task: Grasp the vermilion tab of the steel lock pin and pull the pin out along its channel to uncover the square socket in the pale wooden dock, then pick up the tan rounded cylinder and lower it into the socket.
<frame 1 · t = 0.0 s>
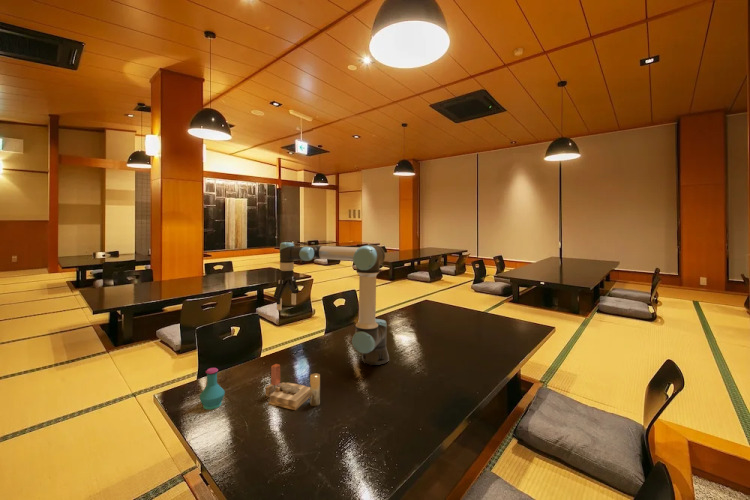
hand: (286, 307, 183), 28 cm above the table, fingers open, 13 cm apart
tan rounded cylinder: (315, 403, 135), on the table
dock: (291, 399, 138), on the table
lock pin: (285, 378, 138), point 9 cm above the table, slide at 0.0 cm
perfume bottle: (212, 405, 132), on the table
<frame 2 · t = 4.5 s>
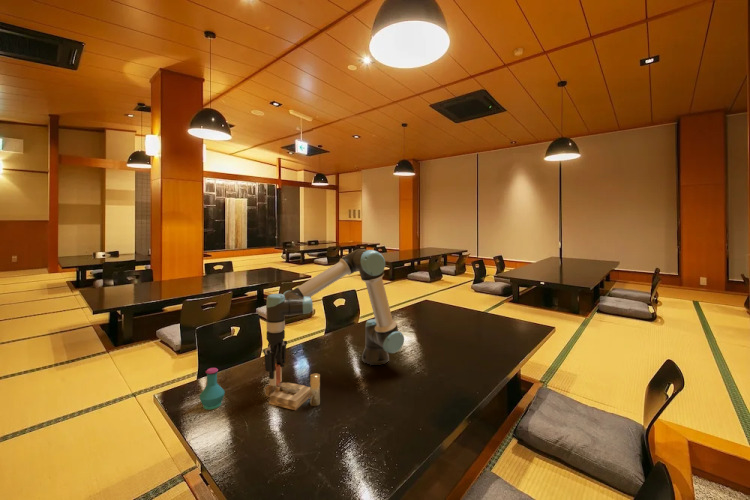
hand: (275, 383, 140), 6 cm above the table, fingers closed on lock pin, 3 cm apart
lock pin: (285, 378, 138), point 9 cm above the table, slide at 0.0 cm, touching gripper
everything else where it was.
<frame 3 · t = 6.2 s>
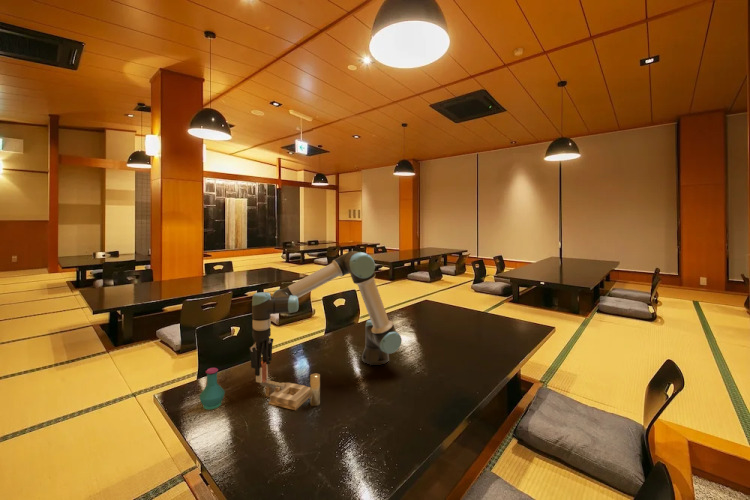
hand: (261, 380, 143), 6 cm above the table, fingers closed on lock pin, 3 cm apart
lock pin: (271, 375, 141), point 9 cm above the table, slide at 7.4 cm, touching dock, gripper
everything else where it was.
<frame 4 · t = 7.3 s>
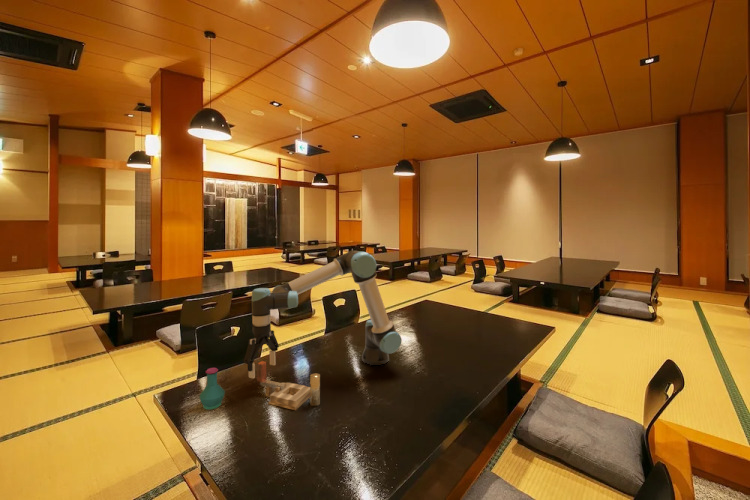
hand: (262, 370, 143), 10 cm above the table, fingers open, 13 cm apart
lock pin: (270, 375, 141), point 9 cm above the table, slide at 7.4 cm, touching dock
everything else where it was.
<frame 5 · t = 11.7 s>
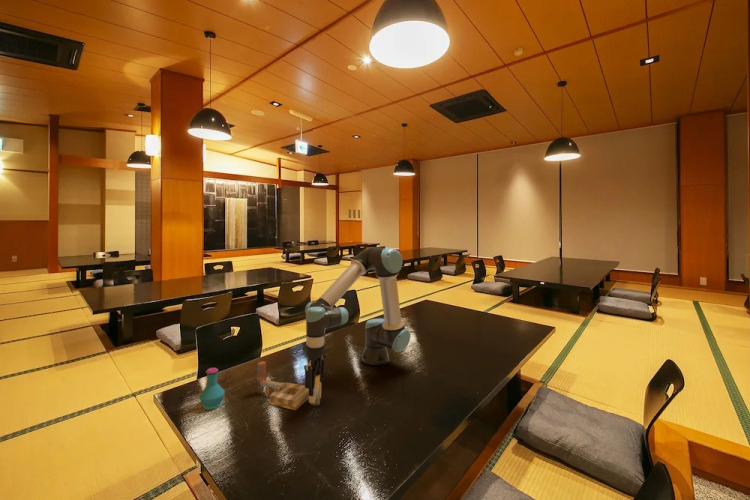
hand: (315, 399, 135), 2 cm above the table, fingers closed on tan rounded cylinder, 4 cm apart
tan rounded cylinder: (315, 403, 135), on the table, touching gripper
everything else where it was.
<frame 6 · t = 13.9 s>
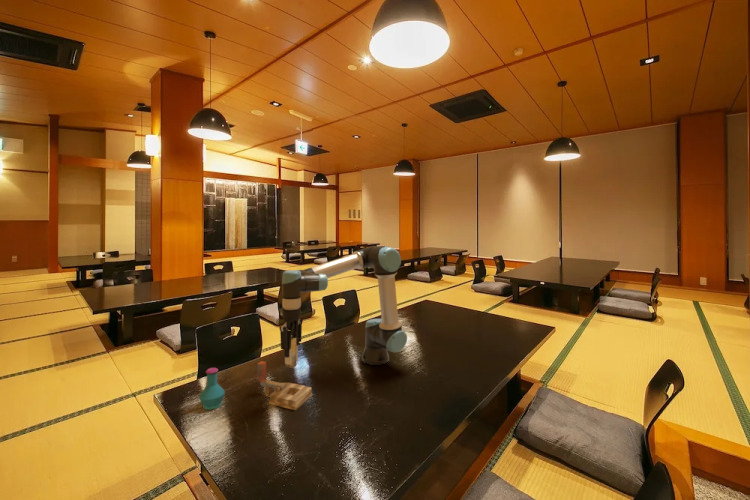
hand: (291, 361, 137), 16 cm above the table, fingers closed on tan rounded cylinder, 4 cm apart
tan rounded cylinder: (291, 365, 137), point 15 cm above the table, touching gripper
everything else where it was.
when the fingers open (4 cm above the table, at t = 16.3 s): tan rounded cylinder stays where it is, resting on dock.
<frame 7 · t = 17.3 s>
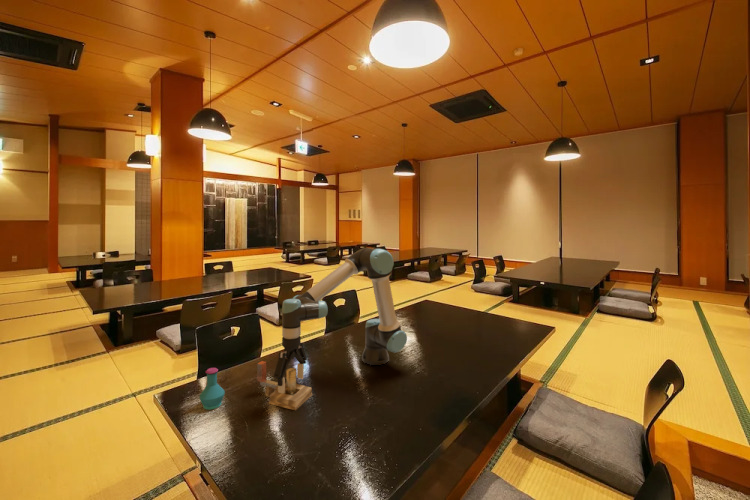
hand: (291, 385, 137), 6 cm above the table, fingers open, 13 cm apart
tan rounded cylinder: (291, 397, 138), point 1 cm above the table, touching dock
everything else where it was.
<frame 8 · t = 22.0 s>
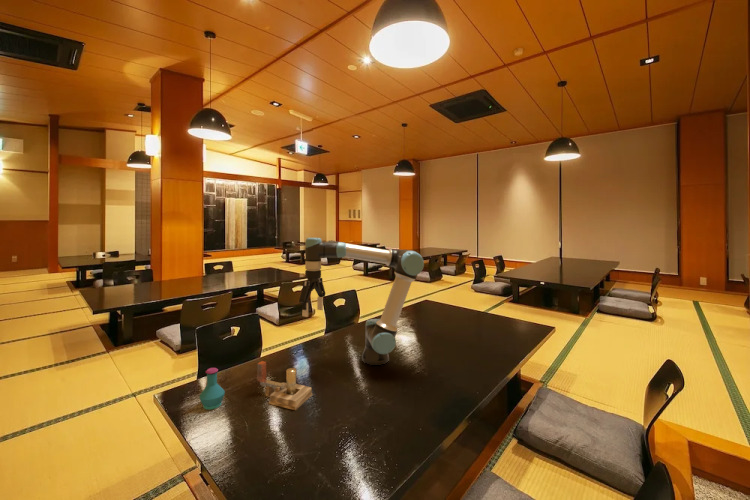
hand: (312, 313, 157), 32 cm above the table, fingers open, 13 cm apart
nothing on the table moved.
at the end: tan rounded cylinder 0.0 cm off-centre on the dock, point 0.8 cm above the dock's base; lock pin slide at 7.4 cm; tan rounded cylinder tilted 0° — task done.
